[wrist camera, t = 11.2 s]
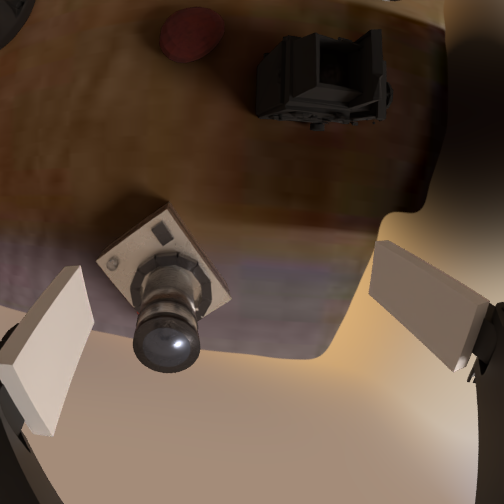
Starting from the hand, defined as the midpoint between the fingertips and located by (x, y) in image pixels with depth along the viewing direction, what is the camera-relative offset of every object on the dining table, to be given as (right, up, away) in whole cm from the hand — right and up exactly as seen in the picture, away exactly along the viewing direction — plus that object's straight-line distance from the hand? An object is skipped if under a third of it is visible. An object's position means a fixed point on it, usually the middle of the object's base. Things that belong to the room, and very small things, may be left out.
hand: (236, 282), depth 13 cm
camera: (+7, +22, +25) cm, 34 cm away
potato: (-7, +28, +20) cm, 35 cm away
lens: (-10, -3, +25) cm, 27 cm away
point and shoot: (-11, -1, +29) cm, 31 cm away
